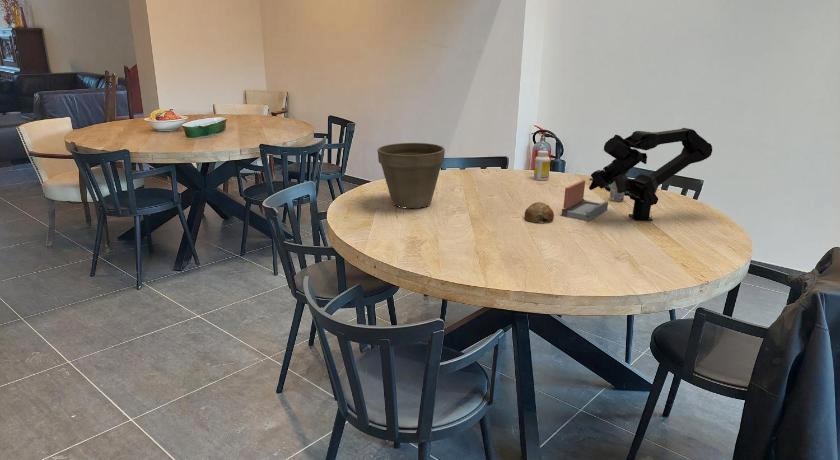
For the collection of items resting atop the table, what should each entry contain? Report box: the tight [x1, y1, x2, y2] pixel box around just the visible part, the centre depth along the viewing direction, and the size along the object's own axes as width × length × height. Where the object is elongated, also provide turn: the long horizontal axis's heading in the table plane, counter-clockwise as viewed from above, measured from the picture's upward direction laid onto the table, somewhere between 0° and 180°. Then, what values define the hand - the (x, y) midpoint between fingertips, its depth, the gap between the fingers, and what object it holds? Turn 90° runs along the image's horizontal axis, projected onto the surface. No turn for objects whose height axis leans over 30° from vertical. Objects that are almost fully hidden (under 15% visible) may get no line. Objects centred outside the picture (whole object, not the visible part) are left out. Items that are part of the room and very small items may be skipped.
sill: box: [561, 198, 587, 218], centre depth 207 cm, size 2×18×2 cm, turn 141°
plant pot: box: [376, 142, 446, 209], centre depth 210 cm, size 25×25×22 cm
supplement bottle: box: [533, 150, 551, 182], centre depth 252 cm, size 7×7×13 cm
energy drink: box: [608, 173, 628, 203], centre depth 219 cm, size 5×5×12 cm
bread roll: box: [524, 201, 555, 224], centre depth 196 cm, size 10×10×8 cm
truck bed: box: [567, 200, 609, 222], centre depth 203 cm, size 8×18×3 cm, turn 142°
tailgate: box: [562, 179, 586, 209], centre depth 205 cm, size 2×15×8 cm, turn 141°
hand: (589, 189), depth 201 cm, fingers closed
